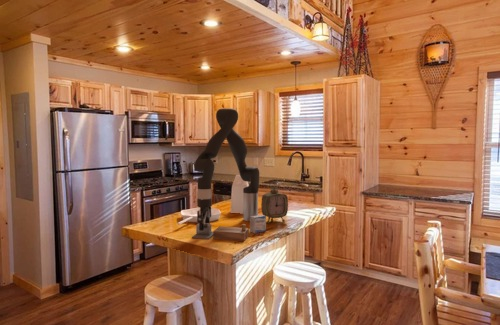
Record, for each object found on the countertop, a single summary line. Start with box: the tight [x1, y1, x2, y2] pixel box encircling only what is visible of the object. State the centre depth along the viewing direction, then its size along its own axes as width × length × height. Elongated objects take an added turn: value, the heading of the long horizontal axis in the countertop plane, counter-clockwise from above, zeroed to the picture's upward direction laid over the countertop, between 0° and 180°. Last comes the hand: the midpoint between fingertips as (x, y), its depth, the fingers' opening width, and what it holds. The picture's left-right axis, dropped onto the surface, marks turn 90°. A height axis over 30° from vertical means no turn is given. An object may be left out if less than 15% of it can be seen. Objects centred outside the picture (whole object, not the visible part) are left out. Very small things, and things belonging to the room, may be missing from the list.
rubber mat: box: [191, 231, 213, 240], centre depth 174 cm, size 12×9×1 cm
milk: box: [230, 174, 250, 215], centre depth 232 cm, size 12×12×26 cm
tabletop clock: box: [260, 180, 289, 225], centre depth 204 cm, size 14×9×25 cm, turn 117°
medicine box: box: [249, 214, 267, 234], centre depth 182 cm, size 8×4×9 cm, turn 126°
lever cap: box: [195, 223, 212, 236], centre depth 174 cm, size 4×7×6 cm, turn 77°
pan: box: [176, 207, 222, 226], centre depth 205 cm, size 28×41×4 cm
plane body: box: [212, 223, 250, 242], centre depth 171 cm, size 10×16×7 cm, turn 77°
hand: (204, 228), depth 174 cm, fingers open, 8 cm apart
